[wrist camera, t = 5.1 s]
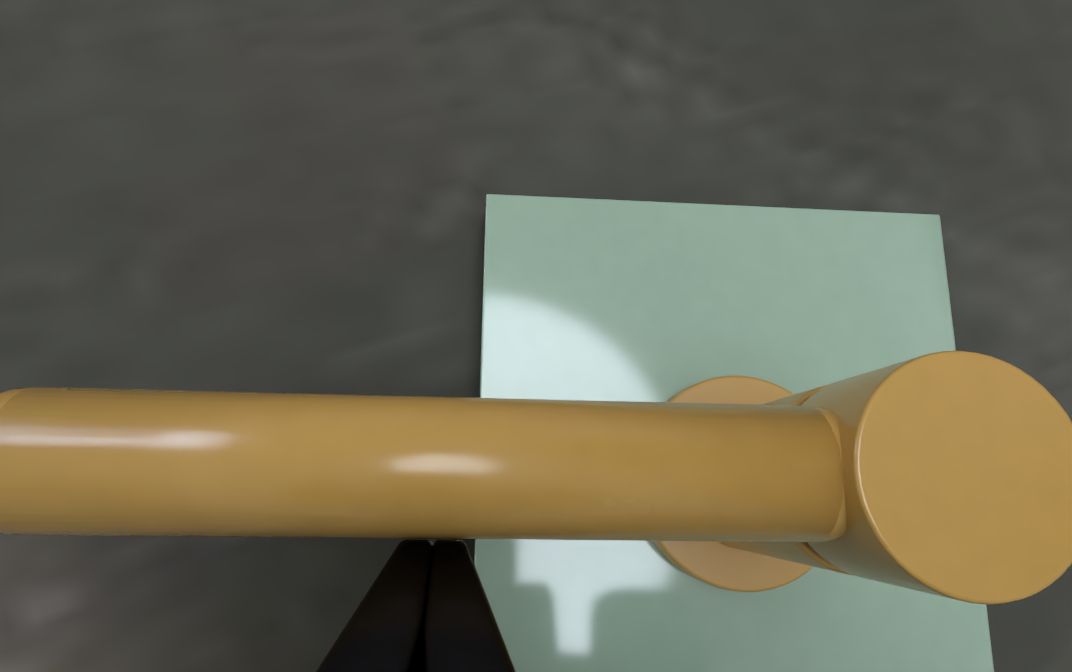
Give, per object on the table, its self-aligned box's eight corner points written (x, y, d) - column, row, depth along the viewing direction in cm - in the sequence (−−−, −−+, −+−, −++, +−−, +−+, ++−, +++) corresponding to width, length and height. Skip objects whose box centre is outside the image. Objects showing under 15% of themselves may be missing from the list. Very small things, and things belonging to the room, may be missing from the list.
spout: (918, 389, 12) (1074, 352, 9) (937, 573, 11) (1114, 605, 8) (67, 366, 11) (-99, 317, 8) (35, 567, 10) (-162, 602, 7)
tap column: (870, 508, 16) (1067, 517, 11) (713, 631, 16) (841, 710, 10) (748, 342, 17) (877, 273, 12) (591, 452, 16) (649, 433, 11)
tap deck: (965, 780, 17) (1012, 808, 15) (467, 789, 16) (465, 819, 14) (906, 234, 20) (940, 214, 18) (485, 216, 19) (485, 193, 17)
